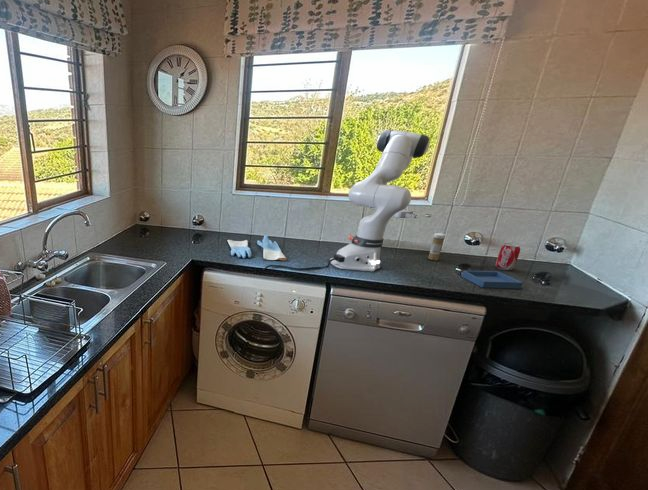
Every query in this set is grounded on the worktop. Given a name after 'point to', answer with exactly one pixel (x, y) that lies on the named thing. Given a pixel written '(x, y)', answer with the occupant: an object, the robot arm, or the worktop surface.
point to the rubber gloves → (269, 248)
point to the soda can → (508, 256)
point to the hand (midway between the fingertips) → (422, 216)
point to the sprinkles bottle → (436, 246)
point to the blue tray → (491, 279)
